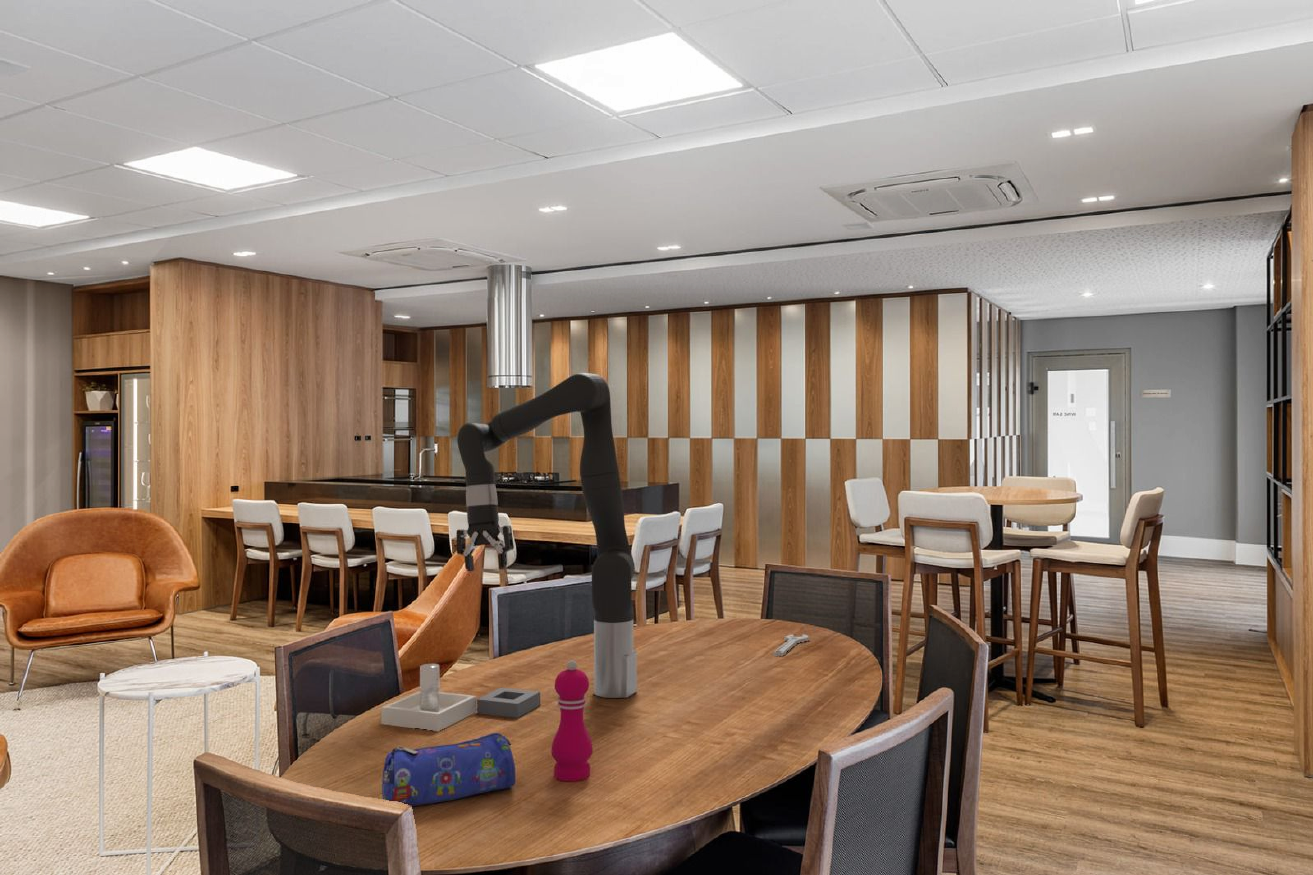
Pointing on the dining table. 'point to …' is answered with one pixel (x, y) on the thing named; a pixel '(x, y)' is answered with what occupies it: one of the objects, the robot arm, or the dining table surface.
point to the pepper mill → (571, 726)
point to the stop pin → (429, 687)
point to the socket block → (508, 702)
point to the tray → (412, 717)
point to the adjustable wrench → (790, 643)
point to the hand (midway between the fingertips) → (486, 570)
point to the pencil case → (448, 771)
